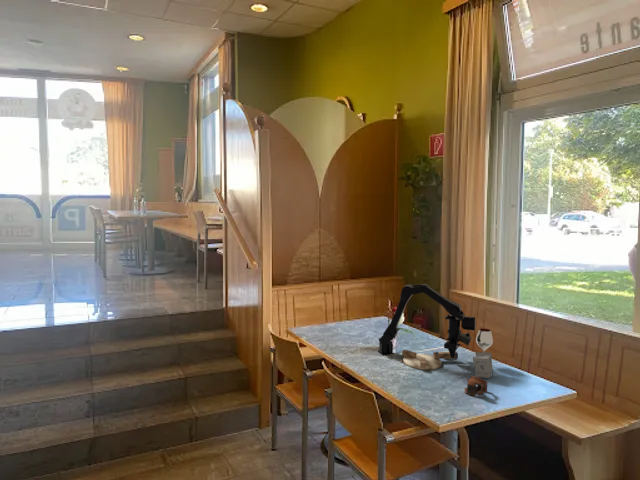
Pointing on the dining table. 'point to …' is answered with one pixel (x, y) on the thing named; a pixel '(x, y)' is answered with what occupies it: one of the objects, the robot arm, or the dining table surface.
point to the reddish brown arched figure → (472, 387)
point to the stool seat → (420, 360)
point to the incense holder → (483, 364)
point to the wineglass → (484, 338)
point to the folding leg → (444, 355)
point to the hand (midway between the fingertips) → (452, 357)
